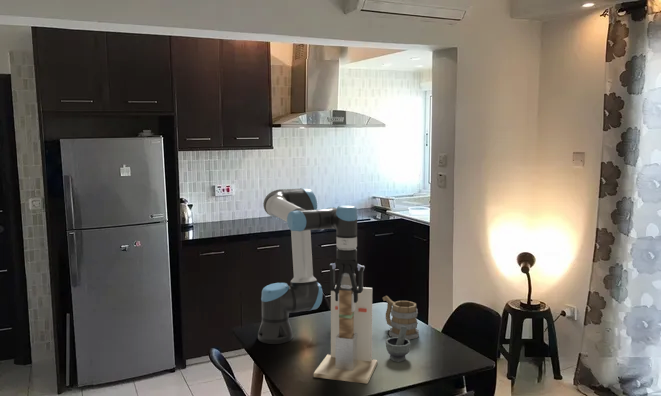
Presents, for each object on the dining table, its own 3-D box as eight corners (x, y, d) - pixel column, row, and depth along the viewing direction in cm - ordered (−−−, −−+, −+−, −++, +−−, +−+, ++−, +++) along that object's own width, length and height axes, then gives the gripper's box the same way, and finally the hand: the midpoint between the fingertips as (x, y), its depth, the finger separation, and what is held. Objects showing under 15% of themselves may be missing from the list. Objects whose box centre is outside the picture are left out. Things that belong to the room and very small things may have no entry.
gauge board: (330, 357, 212) (330, 286, 209) (331, 355, 214) (331, 284, 211) (370, 362, 208) (371, 289, 205) (371, 360, 210) (372, 287, 207)
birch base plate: (313, 376, 198) (313, 373, 198) (327, 358, 215) (327, 354, 215) (367, 383, 193) (367, 379, 193) (377, 363, 210) (377, 360, 210)
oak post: (338, 351, 202) (338, 287, 199) (342, 346, 206) (342, 284, 204) (350, 352, 200) (351, 288, 198) (353, 348, 205) (354, 285, 202)
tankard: (424, 336, 240) (425, 302, 238) (402, 342, 233) (403, 307, 231) (394, 323, 256) (394, 292, 255) (373, 328, 249) (373, 296, 248)
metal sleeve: (335, 368, 202) (335, 337, 200) (340, 361, 208) (340, 331, 207) (352, 370, 200) (353, 339, 199) (356, 363, 206) (357, 333, 205)
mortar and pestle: (402, 365, 208) (402, 335, 207) (381, 359, 214) (381, 330, 213) (415, 356, 218) (416, 326, 216) (395, 350, 223) (395, 322, 222)
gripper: (320, 248, 198) (320, 311, 201) (368, 251, 193) (367, 315, 196) (326, 245, 205) (326, 305, 208) (372, 247, 200) (371, 309, 203)
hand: (346, 310), depth 202 cm, fingers closed on oak post, 4 cm apart
